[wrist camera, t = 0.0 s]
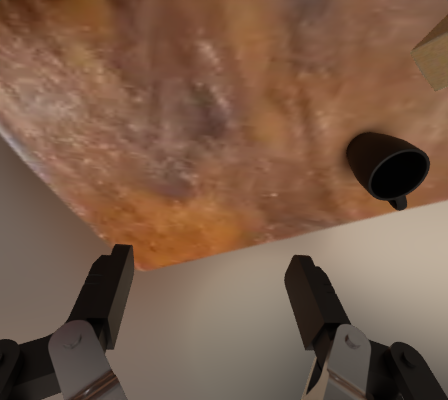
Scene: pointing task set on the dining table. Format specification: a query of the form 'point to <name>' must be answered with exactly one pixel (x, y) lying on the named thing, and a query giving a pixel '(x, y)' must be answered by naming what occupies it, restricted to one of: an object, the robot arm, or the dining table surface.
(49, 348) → the robot arm
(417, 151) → the mug
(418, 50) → the sandwich container
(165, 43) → the dining table surface
